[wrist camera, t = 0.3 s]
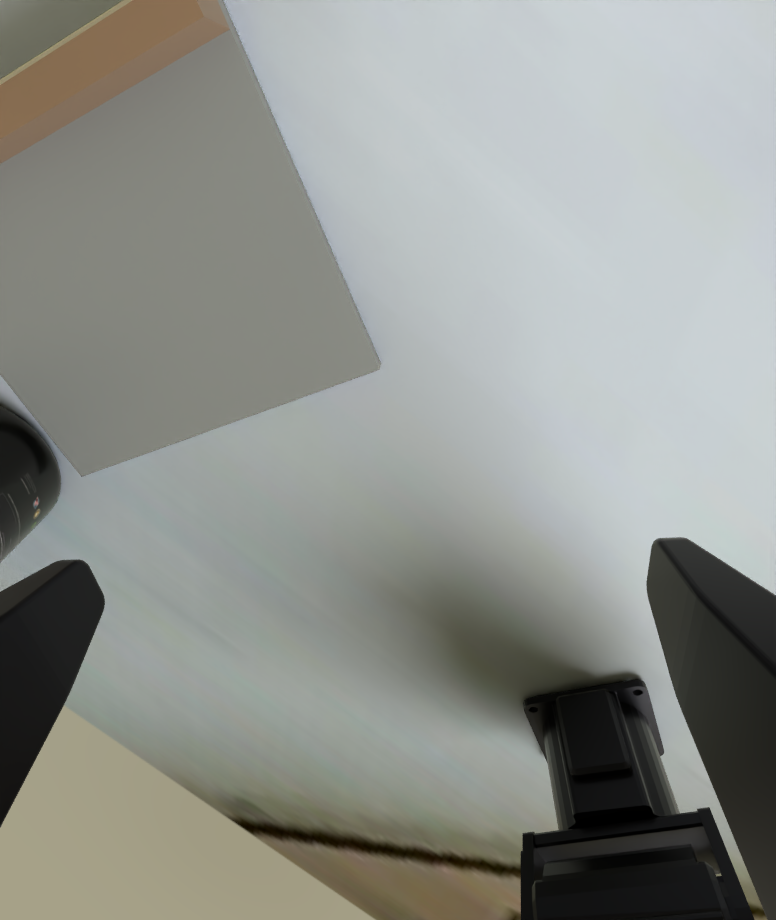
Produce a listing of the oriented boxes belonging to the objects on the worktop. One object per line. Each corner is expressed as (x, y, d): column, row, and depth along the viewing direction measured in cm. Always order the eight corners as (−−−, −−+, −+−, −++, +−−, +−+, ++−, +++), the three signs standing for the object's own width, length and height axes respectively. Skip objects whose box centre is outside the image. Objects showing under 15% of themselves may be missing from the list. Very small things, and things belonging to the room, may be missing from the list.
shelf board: (380, 363, 21) (373, 391, 19) (89, 469, 25) (54, 502, 23) (215, -17, 16) (177, -42, 13) (-127, 194, 19) (-200, 202, 17)
